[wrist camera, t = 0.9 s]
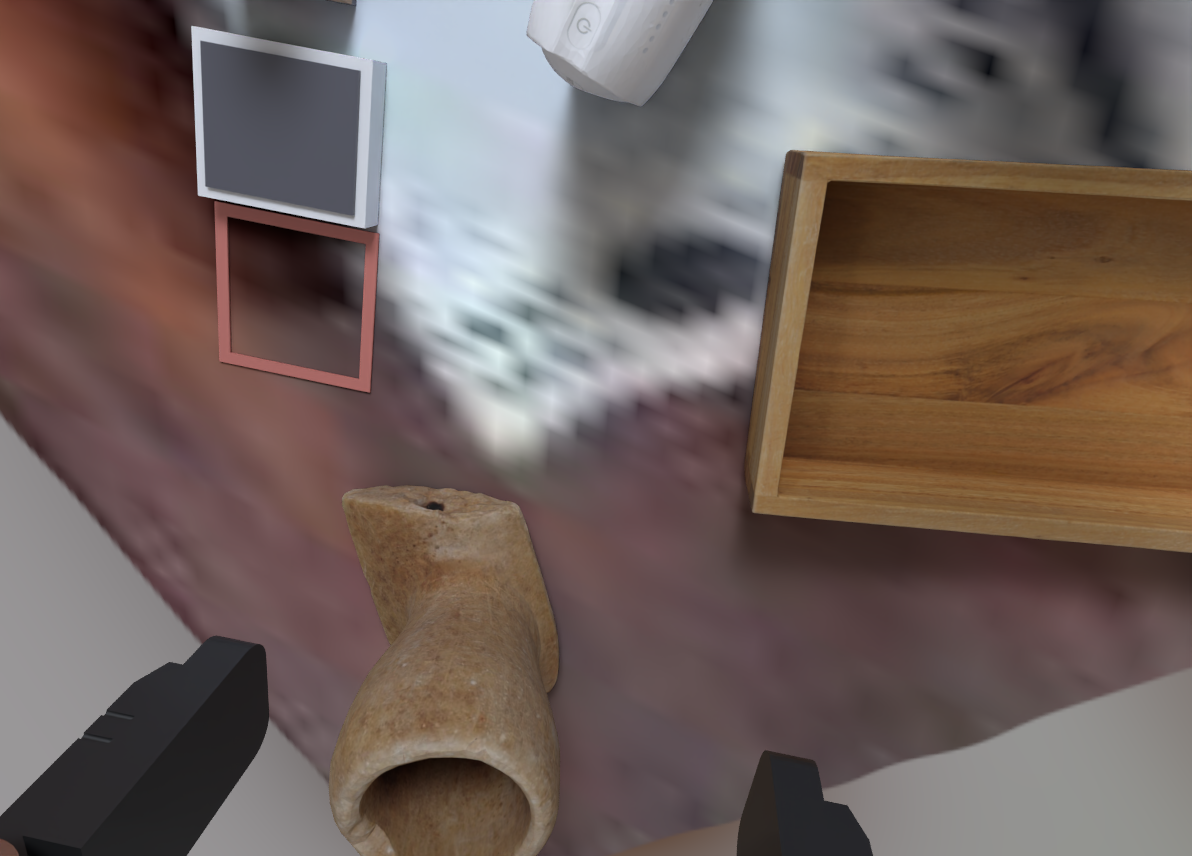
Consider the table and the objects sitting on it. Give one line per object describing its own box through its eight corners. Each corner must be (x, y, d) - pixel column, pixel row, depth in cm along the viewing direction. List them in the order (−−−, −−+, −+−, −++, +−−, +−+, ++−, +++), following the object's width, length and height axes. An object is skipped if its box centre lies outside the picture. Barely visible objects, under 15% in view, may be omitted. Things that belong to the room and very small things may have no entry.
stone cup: (607, 685, 43) (570, 942, 30) (420, 694, 45) (303, 938, 32) (563, 454, 38) (492, 636, 24) (353, 476, 40) (177, 655, 26)
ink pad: (212, 30, 32) (188, 25, 31) (386, 63, 32) (370, 59, 30) (217, 193, 35) (195, 195, 33) (377, 224, 35) (363, 229, 33)
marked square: (215, 201, 35) (214, 201, 35) (379, 233, 35) (378, 233, 35) (220, 360, 38) (219, 361, 38) (370, 392, 38) (369, 392, 38)
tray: (1567, 187, 29) (1761, 199, 24) (1391, 520, 35) (1516, 589, 29) (784, 147, 32) (803, 149, 27) (741, 461, 37) (750, 514, 32)
